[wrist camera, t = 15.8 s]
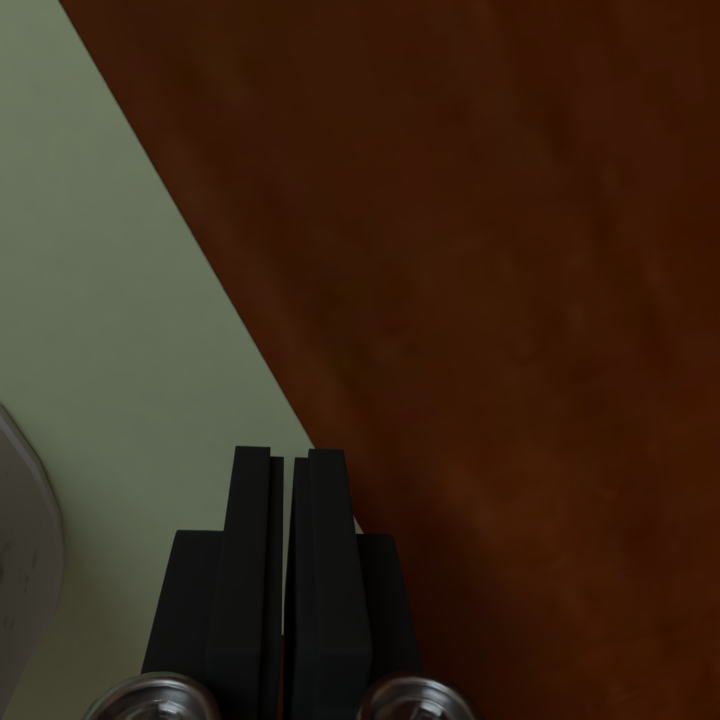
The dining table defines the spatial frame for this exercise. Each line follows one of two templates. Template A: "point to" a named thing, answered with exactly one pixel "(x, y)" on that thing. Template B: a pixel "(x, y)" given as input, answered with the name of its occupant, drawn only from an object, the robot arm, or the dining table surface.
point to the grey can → (25, 555)
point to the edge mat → (112, 360)
